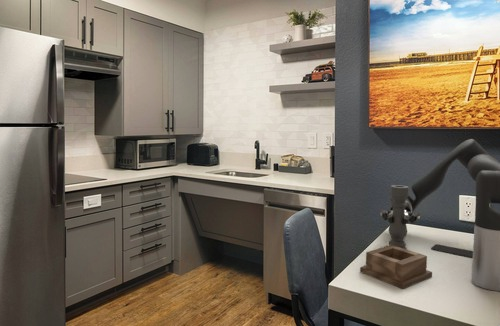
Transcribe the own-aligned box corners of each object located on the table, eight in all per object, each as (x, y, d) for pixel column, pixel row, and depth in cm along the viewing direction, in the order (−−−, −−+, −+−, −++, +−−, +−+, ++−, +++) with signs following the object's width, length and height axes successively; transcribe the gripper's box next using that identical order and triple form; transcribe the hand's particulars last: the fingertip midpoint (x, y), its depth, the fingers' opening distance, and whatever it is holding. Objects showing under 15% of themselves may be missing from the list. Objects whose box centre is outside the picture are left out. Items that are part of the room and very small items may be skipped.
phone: (436, 243, 144) (480, 252, 134) (435, 245, 144) (480, 254, 134) (430, 248, 138) (476, 257, 128) (430, 250, 138) (476, 260, 128)
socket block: (431, 276, 114) (433, 256, 113) (402, 289, 105) (403, 266, 105) (389, 261, 126) (389, 243, 125) (360, 271, 118) (360, 251, 117)
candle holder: (403, 253, 134) (406, 185, 131) (408, 260, 128) (411, 188, 125) (385, 253, 134) (387, 184, 132) (390, 259, 128) (392, 187, 126)
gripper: (381, 199, 145) (376, 208, 130) (422, 202, 139) (421, 212, 123) (381, 218, 146) (375, 229, 130) (421, 222, 140) (420, 234, 124)
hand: (397, 221), depth 127 cm, fingers closed on candle holder, 4 cm apart
